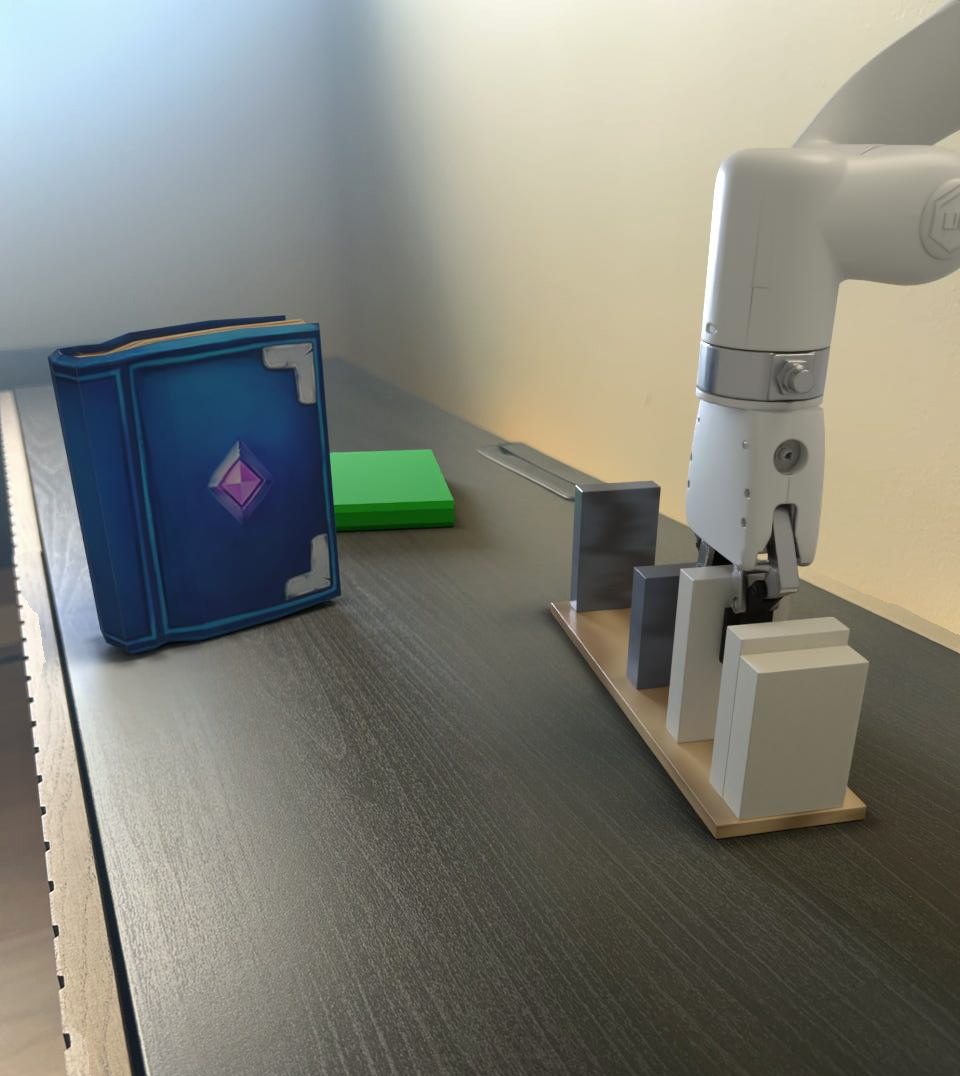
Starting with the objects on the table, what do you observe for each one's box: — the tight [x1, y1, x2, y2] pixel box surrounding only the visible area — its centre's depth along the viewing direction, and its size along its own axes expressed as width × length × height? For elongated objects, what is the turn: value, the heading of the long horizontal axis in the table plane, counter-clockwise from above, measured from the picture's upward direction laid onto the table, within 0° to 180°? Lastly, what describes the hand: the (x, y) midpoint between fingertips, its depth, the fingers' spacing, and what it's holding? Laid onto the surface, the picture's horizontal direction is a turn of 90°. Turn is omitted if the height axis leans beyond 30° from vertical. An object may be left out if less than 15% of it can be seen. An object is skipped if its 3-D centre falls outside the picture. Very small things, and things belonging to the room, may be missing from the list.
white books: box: [709, 616, 870, 820], centre depth 64 cm, size 7×4×11 cm, turn 103°
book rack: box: [550, 480, 867, 840], centre depth 78 cm, size 10×36×12 cm, turn 13°
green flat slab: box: [330, 448, 456, 532], centre depth 124 cm, size 22×28×3 cm
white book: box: [666, 565, 791, 743], centre depth 71 cm, size 7×2×12 cm, turn 103°
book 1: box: [47, 314, 342, 655], centre depth 88 cm, size 22×7×25 cm, turn 129°
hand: (728, 647), depth 71 cm, fingers open, 3 cm apart
